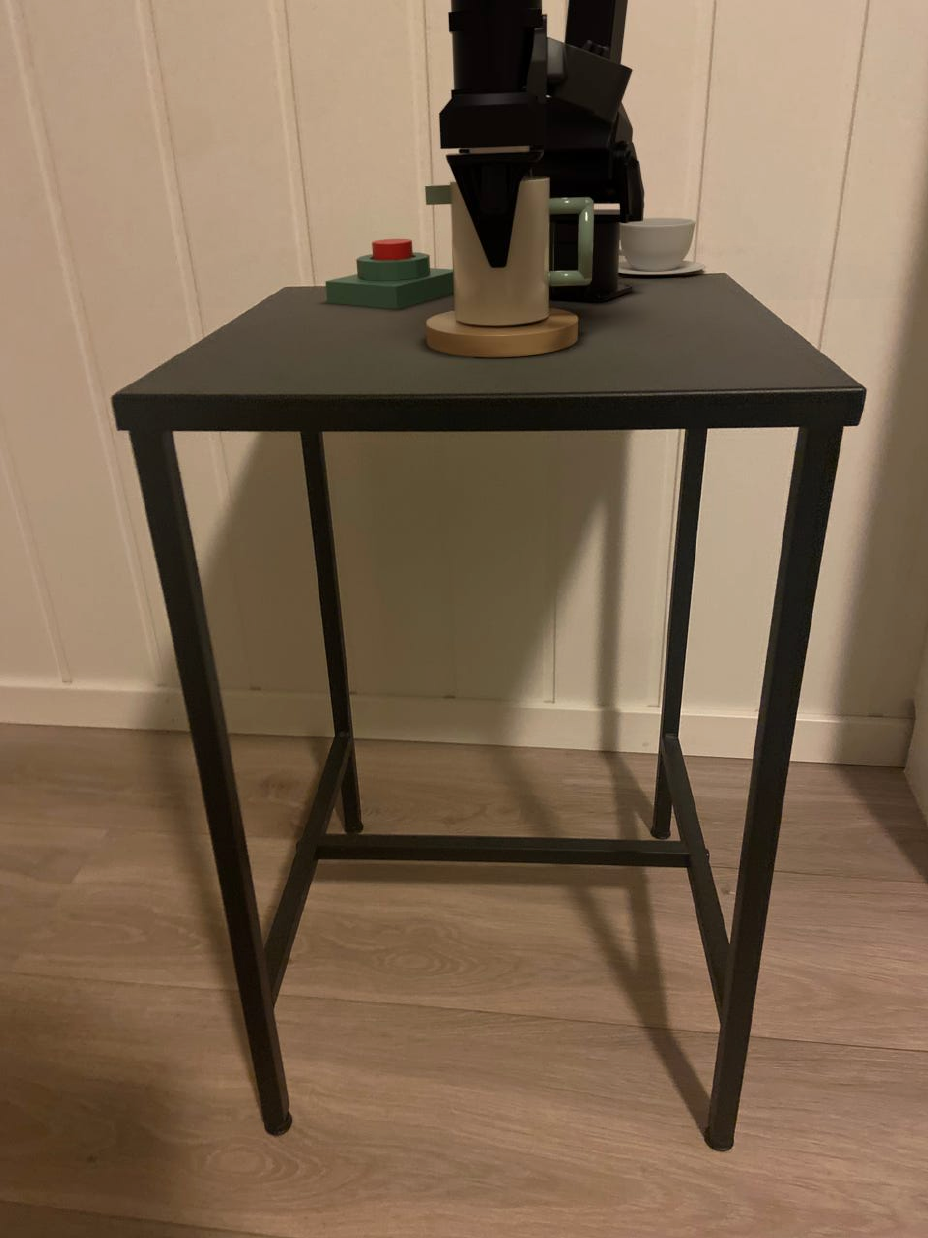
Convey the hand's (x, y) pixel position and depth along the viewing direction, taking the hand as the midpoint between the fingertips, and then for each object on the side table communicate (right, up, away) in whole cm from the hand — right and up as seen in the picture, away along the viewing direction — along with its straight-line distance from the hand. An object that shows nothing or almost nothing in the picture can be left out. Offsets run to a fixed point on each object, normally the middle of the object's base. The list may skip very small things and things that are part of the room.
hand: (500, 260), depth 66 cm
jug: (0, -3, +2) cm, 4 cm away
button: (-9, +7, +19) cm, 23 cm away
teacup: (+17, +10, +29) cm, 35 cm away
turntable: (0, -5, +3) cm, 6 cm away
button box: (-9, +5, +21) cm, 23 cm away
